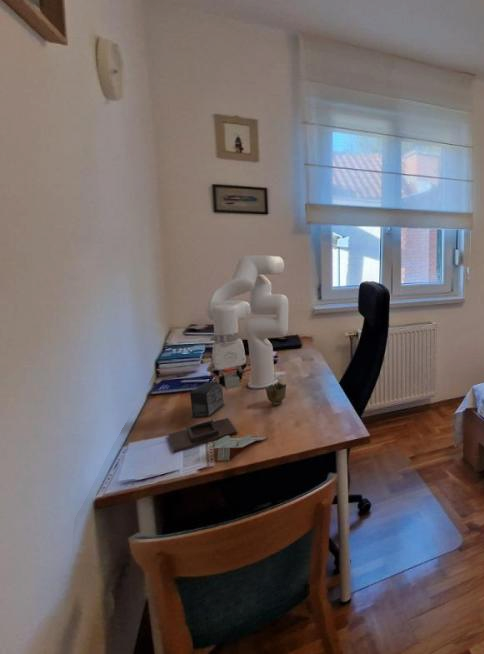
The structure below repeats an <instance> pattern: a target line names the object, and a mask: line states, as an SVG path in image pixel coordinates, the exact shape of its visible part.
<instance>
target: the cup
mask: <svg viewBox="0 0 484 654" xmlns="http://www.w3.org/2000/svg"><path fill="white" fill-rule="evenodd" d="M265 391H266V396H267V399H268V401H269V402H271V404H272V406H275V407H277V406H280V405H282V403H283V400H284V399H285V397H286V394H287V384H286V383H284V384H283V383H282V382H278V383H276V384H274V385H272V384H271V386H270V385H269V387H268V386H267V387H266V388H265Z"/></svg>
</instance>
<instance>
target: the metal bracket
mask: <svg viewBox="0 0 484 654" xmlns="http://www.w3.org/2000/svg"><path fill="white" fill-rule="evenodd" d="M266 439H267V436H264V437H263V436H258V437H253V435H252V434H248V435H246V436H244V437H231V436H225V437H223V438H221V439H218V440H215V441H212V445H210V446H207V447H206V448H205V450H207V449H211V450H212V449H217V458H216V459H217V461H219V462H220V461H229V460H230V459H231V458H230V457H231V449H239V448H244V447H246V446H248V445H250V444H252V443H254V442H256V441H263V440H266Z"/></svg>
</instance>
